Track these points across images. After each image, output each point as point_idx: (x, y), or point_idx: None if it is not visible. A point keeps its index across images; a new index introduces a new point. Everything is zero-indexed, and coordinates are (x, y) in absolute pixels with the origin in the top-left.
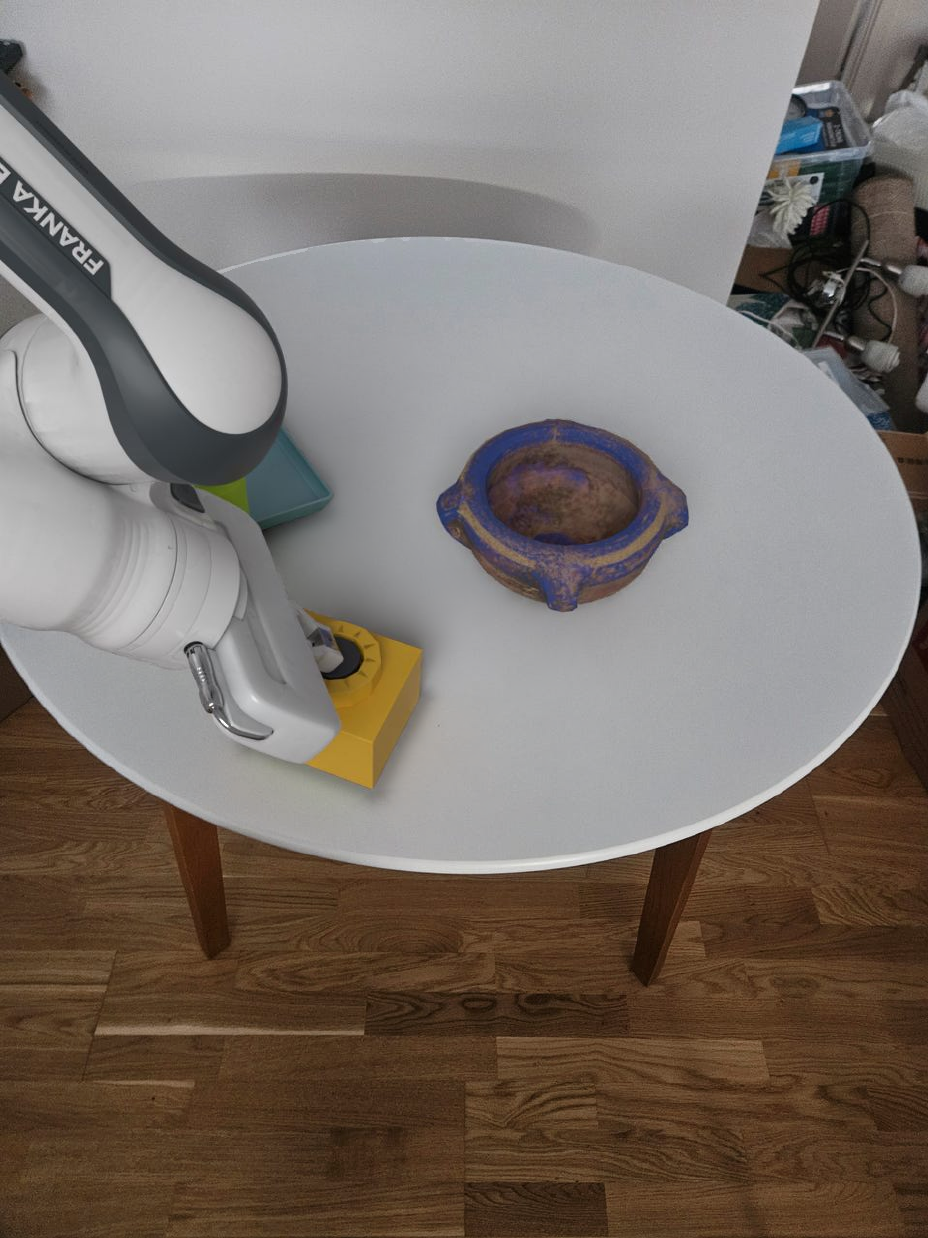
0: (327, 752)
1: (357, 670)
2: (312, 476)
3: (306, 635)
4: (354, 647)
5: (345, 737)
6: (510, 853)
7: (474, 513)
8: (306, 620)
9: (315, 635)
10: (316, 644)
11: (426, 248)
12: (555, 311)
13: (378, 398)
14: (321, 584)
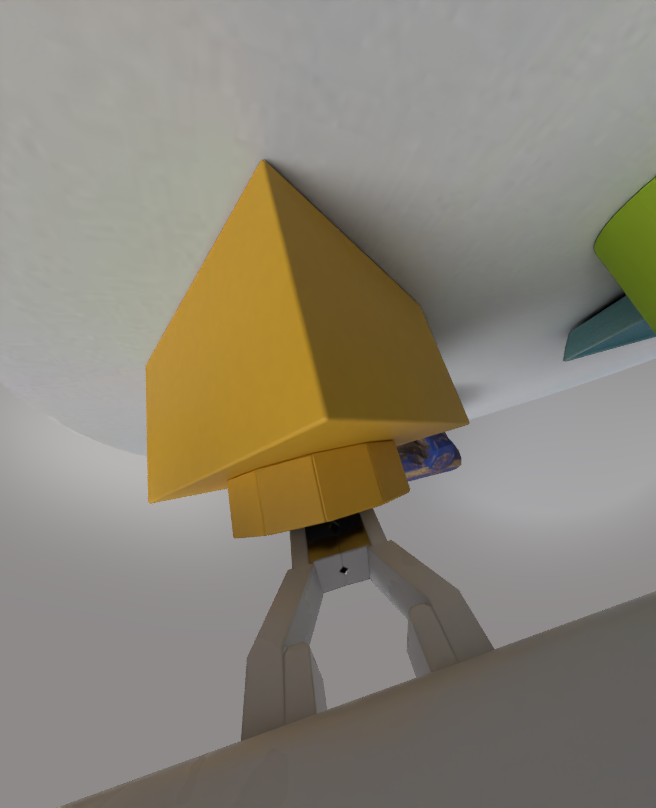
0: (173, 389)
1: None
2: (608, 341)
3: (372, 567)
4: None
5: (163, 480)
6: (91, 434)
7: (414, 477)
8: (394, 604)
9: (358, 575)
10: (338, 577)
11: (612, 372)
12: (503, 404)
13: (581, 358)
14: (497, 324)
